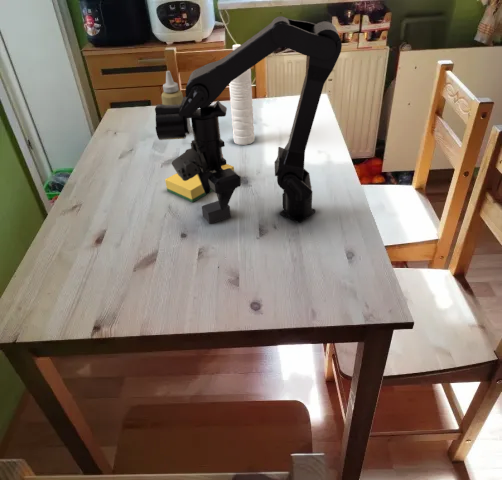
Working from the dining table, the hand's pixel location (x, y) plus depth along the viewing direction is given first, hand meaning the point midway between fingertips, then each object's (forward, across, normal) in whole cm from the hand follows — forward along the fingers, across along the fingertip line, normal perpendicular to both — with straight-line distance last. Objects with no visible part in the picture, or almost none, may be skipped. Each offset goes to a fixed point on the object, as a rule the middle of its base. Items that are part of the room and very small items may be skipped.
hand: (215, 201), depth 111 cm
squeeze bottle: (+4, -54, +11) cm, 55 cm away
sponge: (+4, -17, +3) cm, 18 cm away
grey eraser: (+4, 0, 0) cm, 4 cm away
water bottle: (+4, -36, +26) cm, 45 cm away
